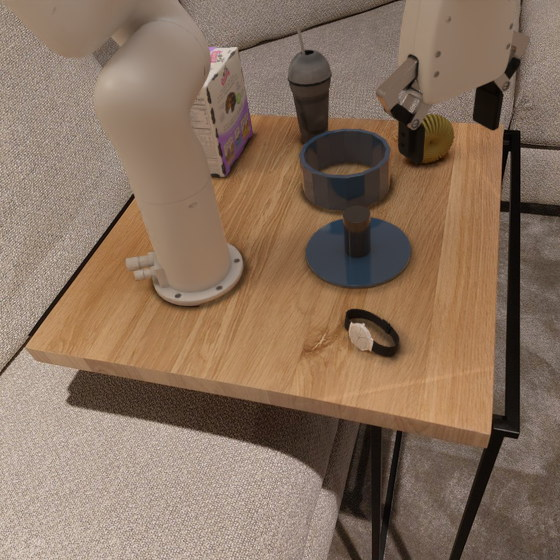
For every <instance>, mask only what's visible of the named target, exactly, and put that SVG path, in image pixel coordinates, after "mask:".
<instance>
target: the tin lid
mask: <svg viewBox="0 0 560 560" xmlns="http://www.w3.org/2000/svg"><path fill="white" fill-rule="evenodd" d="M371 216H372V215H371V211H370V209H369V208H368V207H364V206H351V207H348V208H347V209H345V210H344V211H343V212H342V218H340V219H336V220H333V221H331V222H329V223H326V224H325V225H323V226H322V227H319V228H318V229H317V230H316V231H315V232H314V233H313V234H312V235H311V237H310V238H309V240H307V241H308V242H307V244H306V246H305V247H306V248H305V260H306V263H307V266H308V267H309V269H310V270H311V272H312V273H313V274H314V275H315V276H317V278H319V279H320V280H322V281H324V282H326V283H328V284H331V285H333V286H336V287H341V288H347V289H366V288H367V289H368V288H372V287H377V286H380V285H384V284H385V283H388V282H390V281H392V280H393V279H395V278H396V277H398V276H400V275H401V274H402V273H403V271H404V270H405V269H406V268H407V266H408V265H409V264H410V263H409V262H410V261H411V257H412V245H411V242H410V239H409V238H408V236H407V234H406V233H405V232H404V231H403V230H402V229H401V228H400V227H398V226H397V225H395V224H394V223H392V222H390V221H387V220H384V219H380V218H377V217H371Z"/></svg>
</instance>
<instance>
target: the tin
mask: <svg viewBox="0 0 560 560" xmlns="http://www.w3.org/2000/svg"><path fill="white" fill-rule="evenodd" d="M391 155H392V149H391V146H390V145H389V143H388V140H387V139H386V138H385V137H383V136H381V135H380V134H379V133H376V132H375V131H370V130H366V129H363V128H338V129H333V130H328V131H327V132H324V133H322V134H320V135H317V136H315V137H313V138H312V139H310V140H309V141H308V142H307V143H306V144H305V143H304V144H303V145H302V147H301V149H300V152H299V154H298V157H299V166H300V176H301V177H300V178H301V185H302V190H303V193H304V197H305V198H306V199H308V200H309V201H310V202H311V203H312V204H313V205H315V206H317V207H319V208H320V207H321V208H323V209H326V210H330V211H343V212H344V210H345V209H347V208H348V207H351V206H364V207H366V208H368V207H369V206H372V205H374V204H375V203H377V202H380V201H381V200H382V199H383V198H384V197H385V196H386V195H387V193H389V189H390V186H391V169H392V167H391V163H392V162H391V161H392V158H391ZM343 163H347V164H349V163H352V164H362V165H365V166H369V167H370V168H368V169H366V170H363V171H361V172H356V173H350V174H331V173H326V172H322V171H320V170H323V169H325V168H327V167H329V166H333V165H339V164H343Z"/></svg>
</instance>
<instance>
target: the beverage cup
mask: <svg viewBox="0 0 560 560" xmlns="http://www.w3.org/2000/svg"><path fill="white" fill-rule="evenodd" d="M295 26H296V32H297V36H298V37H297V38H298V41H299V46H300V50H301V51H299V52H298V53H296V54H295V55H294V57H292V59H291V60H290V62H289V66H288V69H287V71H288V72H287V82H288V85H289V88H290V91H291V93H292V97H293V102H294V109H295V112H296V117H297V123H298V127H299V132H300V136H301V141H302V142H303V143H304V144H306V143H307V142H308V141H309V140H310V139H312V138H313V137H315V136H317V135H320V134H322V133H324V132H327V131H329V116H330V115H329V112H330V108H329V107H330V88H331V81H332V76H333V73H332V70H331V66H330V63H329V60H328V59H327V58H326V57H325V55H324V54H322V52H320V51H318V50H316V49H305V46H304V41H303V37H302V30H301V26H300V23H299V22H296V23H295Z"/></svg>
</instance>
